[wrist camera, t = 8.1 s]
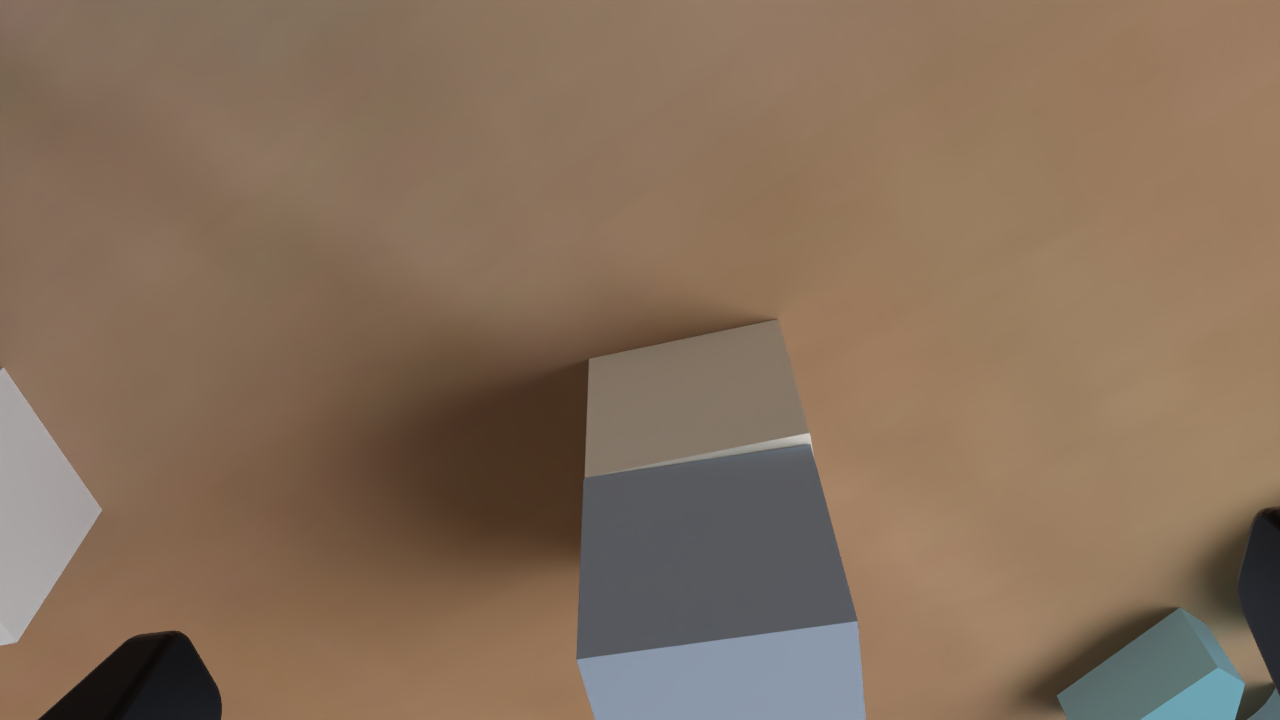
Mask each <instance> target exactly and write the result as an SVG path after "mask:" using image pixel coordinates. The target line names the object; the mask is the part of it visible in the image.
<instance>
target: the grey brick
mask: <svg viewBox="0 0 1280 720" xmlns="http://www.w3.org/2000/svg"><path fill="white" fill-rule="evenodd" d="M101 511H102V509H101V508H100V506H99V505H98V503H97V502H96V501H95V499H94V498H93V496H92V495H91V493H90V492H89V490H88V489H87V488H86V486H85V485H84V483H83V482H82V480H81V479H80V477H79V476H78V475H77V473H76V472H75V470H74V469H73V467H72V466H71V464H70V463H69V462H68V460H67V459H66V457H65V456H64V454H63V453H62V451H61V450H60V449H59V447H58V446H57V444H56V443H55V441H54V440H53V438H52V437H51V436H50V434H49V433H48V431H47V430H46V428H45V427H44V425H43V424H42V422H41V421H40V420H39V418H38V417H37V415H36V414H35V412H34V411H33V409H32V408H31V407H30V405H29V404H28V402H27V401H26V399H25V398H24V396H23V395H22V394H21V392H20V391H19V389H18V388H17V386H16V385H15V383H14V382H13V381H12V379H11V378H10V376H9V375H8V373H7V372H6V370H5V369H4V368H0V645H6V644H11V643H16V642H18V640H19V639H20V637H21V636H22V634H23V632H24V631H25V629H26V628H27V626H28V625H29V623H30V622H31V620H32V618H33V617H34V615H35V614H36V612H37V611H38V609H39V608H40V606H41V604H42V603H43V601H44V600H45V598H46V597H47V595H48V594H49V592H50V590H51V589H52V587H53V586H54V584H55V583H56V581H57V580H58V578H59V577H60V575H61V573H62V572H63V570H64V569H65V567H66V566H67V564H68V563H69V561H70V559H71V558H72V556H73V555H74V553H75V552H76V550H77V549H78V547H79V545H80V544H81V542H82V541H83V539H84V538H85V536H86V535H87V533H88V531H89V530H90V528H91V527H92V525H93V524H94V522H95V521H96V519H97V518H98V516H99V514H100V513H101Z"/></svg>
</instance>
